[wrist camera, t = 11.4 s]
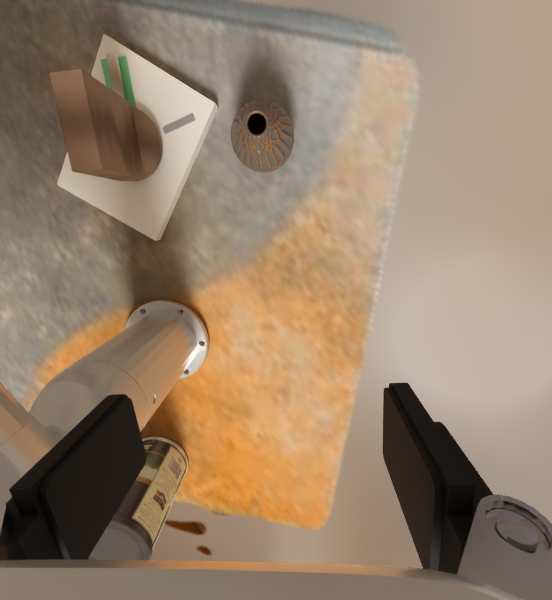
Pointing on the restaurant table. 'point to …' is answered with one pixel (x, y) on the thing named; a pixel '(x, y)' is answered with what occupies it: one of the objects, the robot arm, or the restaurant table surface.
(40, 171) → the restaurant table surface
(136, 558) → the coffee can
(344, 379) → the restaurant table surface
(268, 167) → the vase
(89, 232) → the restaurant table surface
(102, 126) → the dial knob
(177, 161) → the dial board
